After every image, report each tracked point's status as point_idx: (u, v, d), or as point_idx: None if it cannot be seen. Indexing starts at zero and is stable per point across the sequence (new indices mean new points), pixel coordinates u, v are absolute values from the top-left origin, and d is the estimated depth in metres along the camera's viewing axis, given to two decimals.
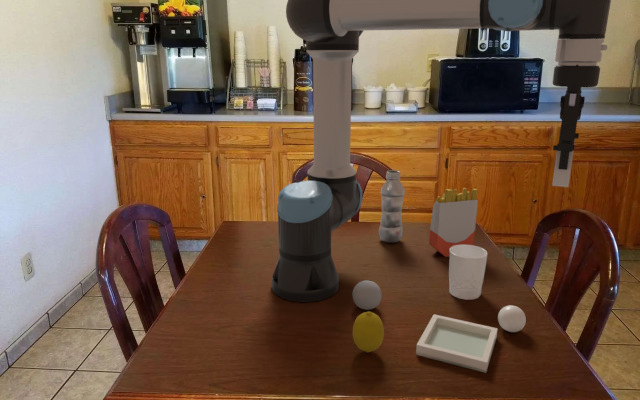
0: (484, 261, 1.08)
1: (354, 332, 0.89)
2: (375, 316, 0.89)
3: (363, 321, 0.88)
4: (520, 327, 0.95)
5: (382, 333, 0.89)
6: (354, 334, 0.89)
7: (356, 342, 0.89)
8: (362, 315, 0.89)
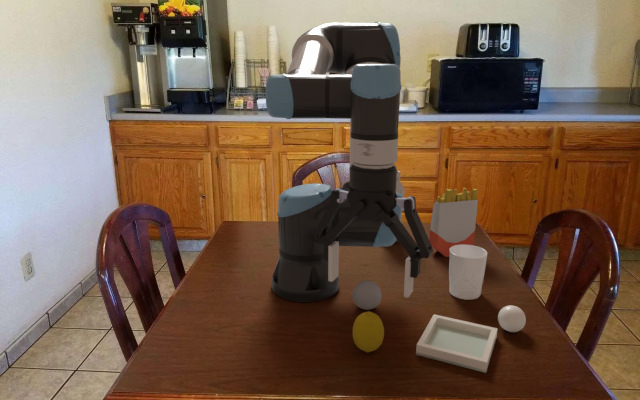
0: (484, 261, 1.08)
1: (354, 332, 0.89)
2: (375, 316, 0.89)
3: (363, 321, 0.88)
4: (520, 327, 0.95)
5: (382, 333, 0.89)
6: (354, 334, 0.89)
7: (356, 342, 0.89)
8: (362, 315, 0.89)
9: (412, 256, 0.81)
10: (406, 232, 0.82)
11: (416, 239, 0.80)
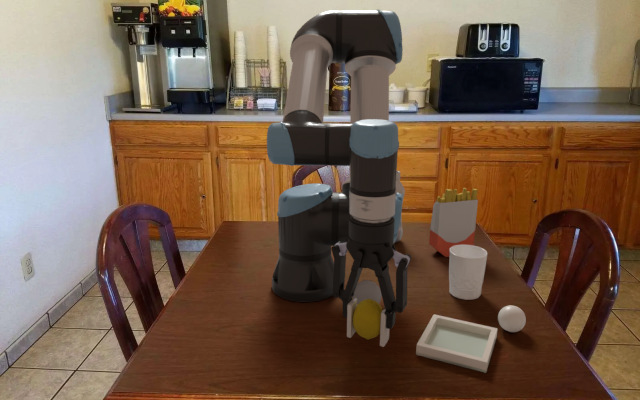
0: (484, 261, 1.08)
1: (354, 319, 0.89)
2: (376, 303, 0.89)
3: (363, 308, 0.88)
4: (520, 327, 0.95)
5: None
6: (354, 321, 0.89)
7: (356, 329, 0.89)
8: (362, 303, 0.89)
9: (387, 309, 0.86)
10: (390, 285, 0.87)
11: (397, 294, 0.85)
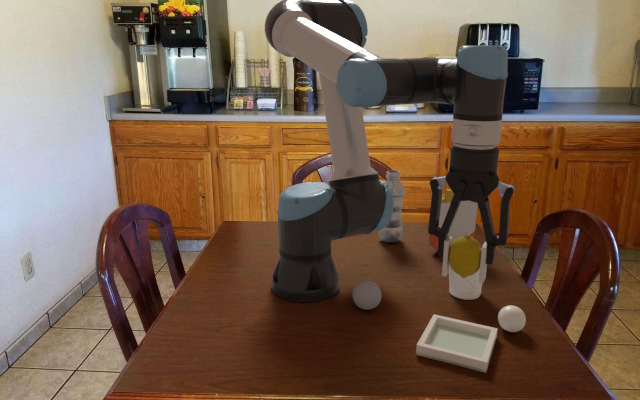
0: None
1: (452, 255, 0.87)
2: (474, 239, 0.87)
3: (462, 243, 0.86)
4: (520, 327, 0.95)
5: None
6: (452, 258, 0.87)
7: (454, 266, 0.87)
8: (460, 239, 0.87)
9: (489, 243, 0.84)
10: (491, 219, 0.85)
11: (500, 226, 0.83)
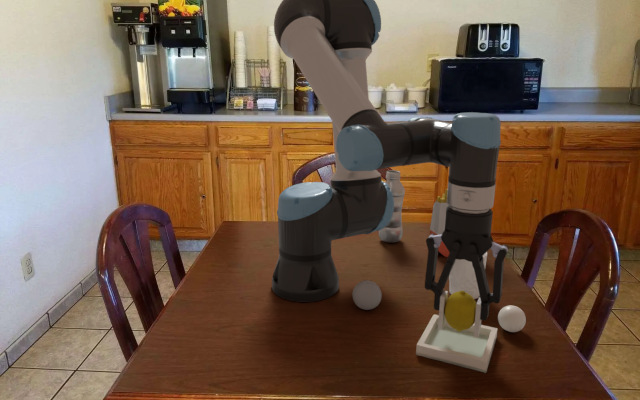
0: (484, 261, 1.08)
1: (448, 311, 0.90)
2: (469, 295, 0.90)
3: (457, 299, 0.89)
4: (520, 327, 0.95)
5: None
6: (448, 313, 0.90)
7: (450, 321, 0.90)
8: (456, 294, 0.90)
9: (483, 300, 0.87)
10: (485, 277, 0.88)
11: (494, 284, 0.86)
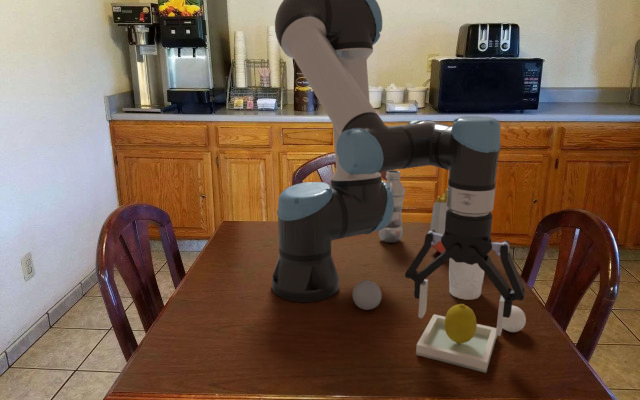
0: None
1: (448, 324, 0.90)
2: (468, 308, 0.90)
3: (457, 313, 0.89)
4: (520, 327, 0.95)
5: (475, 325, 0.90)
6: (448, 326, 0.90)
7: (449, 334, 0.90)
8: (455, 308, 0.90)
9: (506, 298, 0.85)
10: (499, 274, 0.87)
11: (511, 282, 0.84)
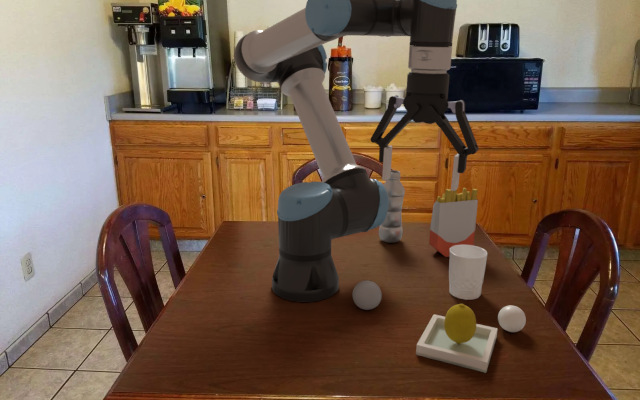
0: (484, 261, 1.08)
1: (447, 324, 0.90)
2: (468, 308, 0.90)
3: (457, 312, 0.90)
4: (520, 327, 0.95)
5: (475, 325, 0.90)
6: (447, 326, 0.91)
7: (449, 334, 0.91)
8: (455, 308, 0.90)
9: (460, 153, 0.93)
10: (455, 133, 0.94)
11: (465, 137, 0.92)
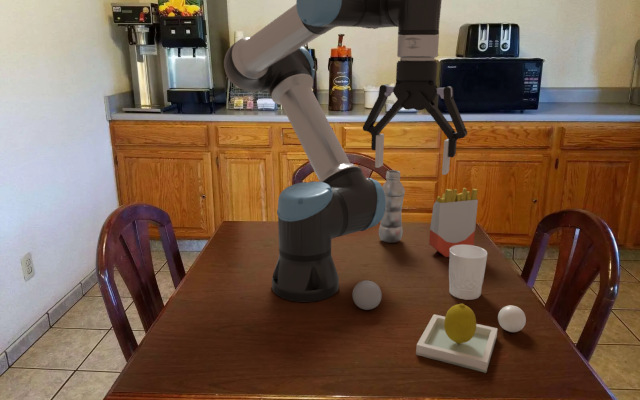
0: (484, 261, 1.08)
1: (447, 324, 0.90)
2: (468, 308, 0.90)
3: (457, 312, 0.90)
4: (520, 327, 0.95)
5: (475, 325, 0.90)
6: (447, 326, 0.91)
7: (449, 334, 0.91)
8: (455, 307, 0.91)
9: (450, 137, 0.95)
10: (444, 118, 0.97)
11: (454, 122, 0.95)
